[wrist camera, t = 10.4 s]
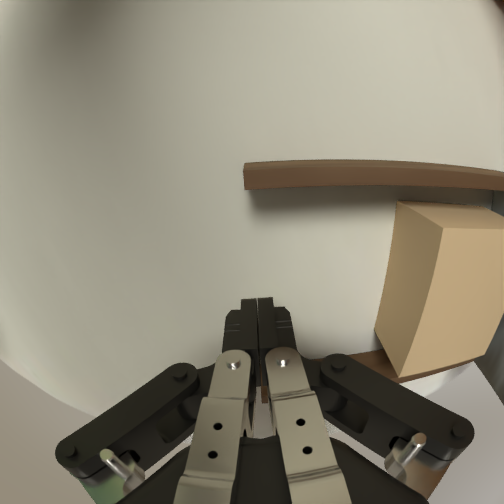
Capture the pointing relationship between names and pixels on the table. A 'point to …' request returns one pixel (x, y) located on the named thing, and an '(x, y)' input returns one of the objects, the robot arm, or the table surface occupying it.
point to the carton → (441, 285)
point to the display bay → (390, 173)
